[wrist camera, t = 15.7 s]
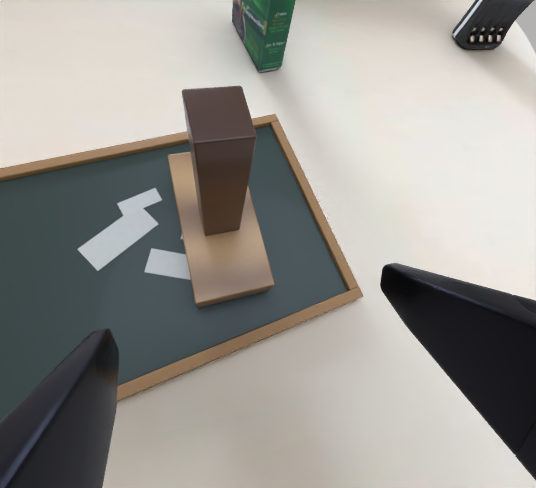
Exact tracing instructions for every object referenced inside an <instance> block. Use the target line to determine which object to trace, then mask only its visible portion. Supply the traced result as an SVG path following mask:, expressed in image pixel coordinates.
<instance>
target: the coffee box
mask: <svg viewBox="0 0 536 488" xmlns="http://www.w3.org/2000/svg"><path fill="white" fill-rule="evenodd" d="M294 5H295V0H233V9H232V22H233V23H234V25H235V27H236V29H237V31H238V33H239V35H240V36H241V38H242V40H243V42H244V44H245V46H246V48H247V50H248V52H249V54H250V55H251V58H252V60H253V62H254V63H255V65H256V67H257V69H258V71H259V72H264V71H271V70H276V69H278V68H280V67H281V65H282V61H283V56H284V51H285V47H286V42H287V37H288V33H289V28H290V23H291V19H292V14H293V9H294Z"/></svg>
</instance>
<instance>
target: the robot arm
mask: <svg viewBox="0 0 536 488" xmlns="http://www.w3.org/2000/svg"><path fill="white" fill-rule="evenodd" d="M380 286H381V290H382V292H383V293H384V295H385V296H386V297H387V299H388V300H389V302H390V303H391V305H392V306H393V308H394V309H395V311H396V312H397V313H398V315H399V316H400V318H401V319H402V321H403V322H404V323H405V325H406V326H407V327H408V329H409V330H410V331H411V332H412V333H413V335H414V336H415V337H416V338H417V339H418V341H419V342H420V343H421V344H422V345H423V346H424V348H425V349H426V350H427V351H428V352H429V354H430V355H431V356H432V357H433V358H434V360H435V361H436V362H437V363H438V364H439V366H440V367H441V368H442V369H443V370H444V371H445V373H446V374H447V375H448V376H449V377H450V379H451V380H452V381H453V382H454V383H455V385H456V386H457V387H458V388H459V389H460V390H461V392H462V393H463V394H464V395H465V396H466V398H467V399H468V400H469V401H470V402H471V404H472V405H473V406H474V407H475V408H476V410H477V411H478V412H479V413H480V414H481V415H482V417H483V418H484V419H485V420H486V421H487V423H488V424H489V425H490V426H491V427H492V429H493V430H494V431H495V432H496V433H497V435H498V436H499V437H500V438H501V439H502V440H503V442H504V443H505V444H506V445H507V446H508V448H509V449H510V450H511V451H512V452H513V454H515V455H516V457H517V459H518V460H519V461H520V462H521V463H522V465H523V466H524V467H525V468H526V469H527V471H528V472H529V473H530V474H531V475H532V476H533V478H534V479H535V480H536V301H535V300H531V299H528V298H524V297H520V296H517V295H512V294H509V293H505V292H502V291H498V290H494V289H490V288H487V287H483V286H479V285H476V284H472V283H468V282H464V281H461V280H457V279H453V278H450V277H446V276H442V275H438V274H435V273H431V272H427V271H424V270H420V269H416V268H412V267H409V266H405V265H401V264H398V263H392V264H387V265H385V266H384V267H383V270H382V276H381V283H380ZM118 372H119V350H118V347H117V344H116V342H115V339H114V337H113V334H112V332H111V330H110V329H108V328H105V329H101V330H96V331H93V332H92V333H90V334H89V335H88V336H87V337H86V338H85V339H84V340H83V341H82V342H81V343H80V344H79V345H78V346H77V347H76V348H75V349H74V350H73V351H72V352H71V353H70V354H69V355H68V356H67V357H66V358H65V359H64V360H63V361H62V362H61V363H60V364H58V365H57V366H56V367H55V368H54V369H53V370H52V371H51V372H50V373H49V374H48V375H47V376H46V377H45V378H44V379H43V380H42V381H41V382H40V383H39V384H38V385H37V386H36V387H35V388H34V389H33V390H32V391H31V392H30V393H29V394H28V395H27V396H26V397H25V398H24V399H23V400H21V401H20V402H19V403H18V404H17V405H16V406H15V407H14V408H13V409H12V410H11V411H10V412H9V413H8V414H7V415H6V416H5V417H4V418H3V419H2V420H1V421H0V488H102V486H103V481H104V475H105V469H106V464H107V458H108V453H109V447H110V442H111V436H112V430H113V425H114V419H115V413H116V404H117V389H118Z"/></svg>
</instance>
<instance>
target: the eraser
mask: <svg viewBox="0 0 536 488" xmlns="http://www.w3.org/2000/svg"><path fill="white" fill-rule="evenodd" d="M182 97H183V104H184V111H185V118H186V124H187V131H188V138H189V145H190V152H187V153H178V154H170V155H168V161H169V166H170V172H171V177H172V182H173V188H174V193H175V198H176V204H177V209H178V214H179V220H180V225H181V230H182V236H183V241H184V246H185V251H186V257H187V262H188V267H189V273H190V278H191V283H192V289H193V294H194V299H195V303H196V305H197V307H198V308H203V307H207V306H211V305H215V304H219V303H224V302H228V301H232V300H236V299H240V298H244V297H248V296H252V295H256V294H260V293H265V292H268V291H269V290H270V289H271V288H272V287H273V286H274V285H275V282H274V279H273V275H272V271H271V268H270V264H269V260H268V257H267V253H266V249H265V246H264V242H263V238H262V235H261V231H260V227H259V224H258V220H257V217H256V213H255V209H254V206H253V202H252V198H251V195H250V191H249V187H248V181H249V176H250V170H251V165H252V160H253V154H254V149H255V143H256V138H257V136H256V132H255V129H254V126H253V123H252V119H251V116H250V113H249V109H248V106H247V103H246V99H245V96H244V93H243V89H242V87H241V86H229V87H213V88H198V89H184V90H182Z"/></svg>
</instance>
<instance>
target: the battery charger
mask: <svg viewBox="0 0 536 488" xmlns="http://www.w3.org/2000/svg"><path fill="white" fill-rule="evenodd" d="M533 1H534V0H475V2H474V3H473V5H472V6H471V7H470V9H469V10H468V11H467V13H466V14H465V15H464V17H463V18H462V19H461V21H460V22H459V23H458V25H457V26H456V27H455V28H454V30H453V37H454V38H455V39H456V40H457V42H458V43H459V44H460V45H461V46H462V47H464V48H467V49H491V48H496V47H498V46H499V45H500V44H501V43H502V41H503V39H504V37H505V36H506V33H507V32H508V30H509V28H510V27H511V25H512V24H513V22H514V21H515V20H516V19H517V17H518V16H519V15H520V14H521V13H522V12H523V11H524V10H525V9H526V8H527V7H528V6H529V5H530V4H531V3H532V2H533Z"/></svg>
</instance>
